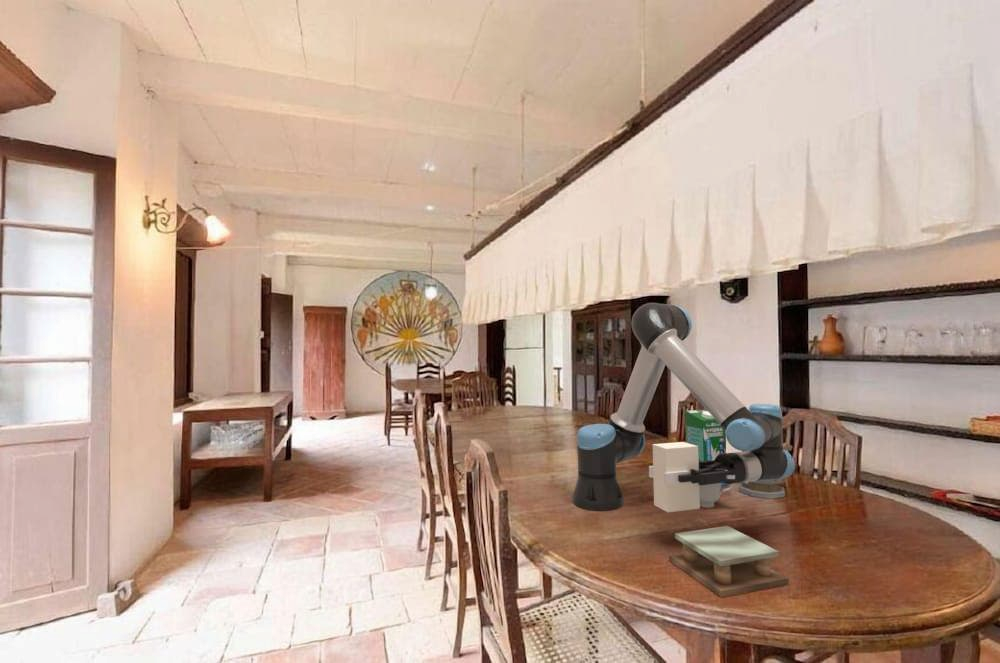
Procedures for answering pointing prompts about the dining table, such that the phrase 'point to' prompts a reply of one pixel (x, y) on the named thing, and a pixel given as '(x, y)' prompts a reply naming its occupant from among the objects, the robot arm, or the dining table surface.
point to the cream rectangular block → (674, 460)
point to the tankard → (765, 485)
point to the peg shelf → (737, 576)
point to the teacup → (711, 494)
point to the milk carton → (705, 434)
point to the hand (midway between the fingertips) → (657, 475)
